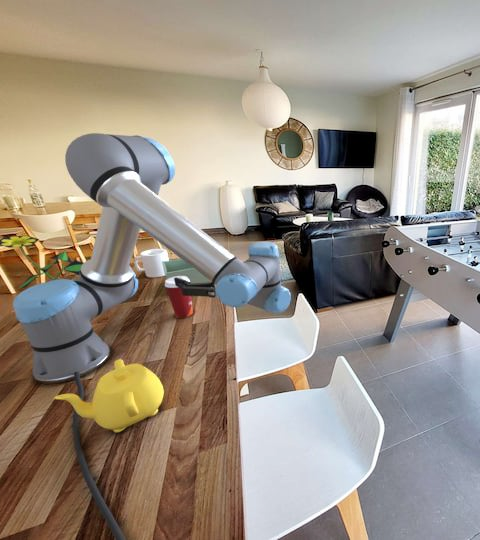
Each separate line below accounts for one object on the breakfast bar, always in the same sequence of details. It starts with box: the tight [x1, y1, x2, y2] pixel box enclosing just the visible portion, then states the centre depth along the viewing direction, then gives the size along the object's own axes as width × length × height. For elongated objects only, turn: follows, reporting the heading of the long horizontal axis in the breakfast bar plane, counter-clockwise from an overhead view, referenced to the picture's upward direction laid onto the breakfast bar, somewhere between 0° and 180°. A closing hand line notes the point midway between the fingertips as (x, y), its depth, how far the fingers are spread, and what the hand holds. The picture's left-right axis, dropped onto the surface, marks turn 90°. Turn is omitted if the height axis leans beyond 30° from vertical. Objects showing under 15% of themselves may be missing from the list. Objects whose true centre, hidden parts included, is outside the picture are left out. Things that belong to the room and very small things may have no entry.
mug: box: [133, 248, 170, 278], centre depth 135 cm, size 14×10×11 cm
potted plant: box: [0, 234, 84, 290], centre depth 94 cm, size 18×19×30 cm
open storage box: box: [162, 258, 211, 283], centre depth 126 cm, size 16×16×10 cm
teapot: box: [53, 358, 165, 433], centre depth 64 cm, size 14×14×12 cm
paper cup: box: [164, 276, 194, 319], centre depth 103 cm, size 8×8×14 cm
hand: (196, 274), depth 94 cm, fingers open, 13 cm apart
